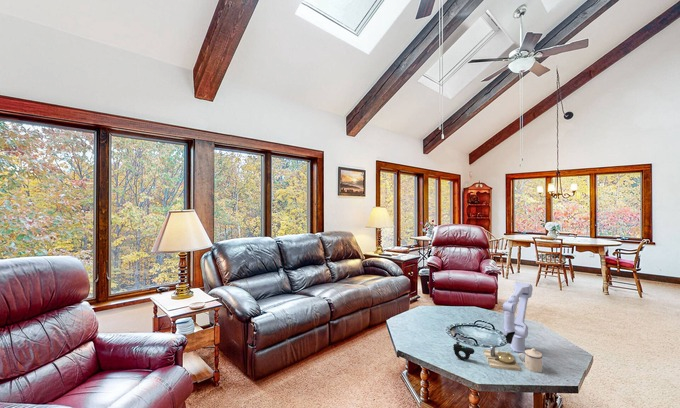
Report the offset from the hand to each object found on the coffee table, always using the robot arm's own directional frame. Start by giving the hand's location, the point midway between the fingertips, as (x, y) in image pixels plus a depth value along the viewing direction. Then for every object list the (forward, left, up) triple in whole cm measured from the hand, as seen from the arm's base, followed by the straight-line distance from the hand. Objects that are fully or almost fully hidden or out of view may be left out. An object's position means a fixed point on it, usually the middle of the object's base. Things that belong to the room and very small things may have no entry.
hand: (509, 343), depth 189 cm
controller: (+9, -28, -10) cm, 31 cm away
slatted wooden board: (+5, -6, -9) cm, 12 cm away
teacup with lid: (+9, +9, -10) cm, 16 cm away
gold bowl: (+7, -6, -7) cm, 12 cm away
